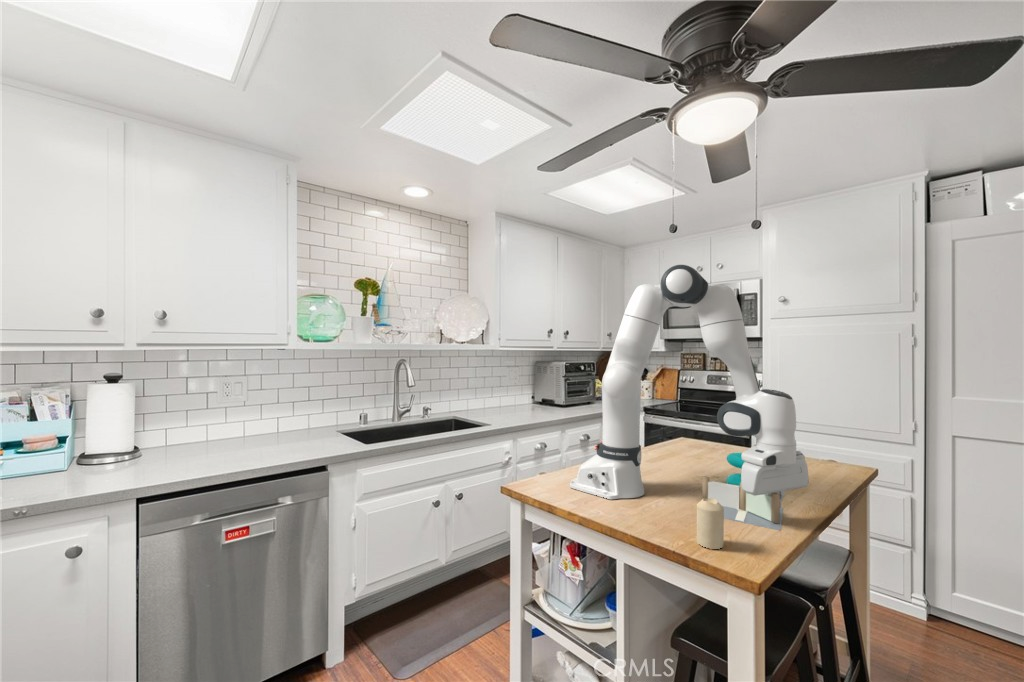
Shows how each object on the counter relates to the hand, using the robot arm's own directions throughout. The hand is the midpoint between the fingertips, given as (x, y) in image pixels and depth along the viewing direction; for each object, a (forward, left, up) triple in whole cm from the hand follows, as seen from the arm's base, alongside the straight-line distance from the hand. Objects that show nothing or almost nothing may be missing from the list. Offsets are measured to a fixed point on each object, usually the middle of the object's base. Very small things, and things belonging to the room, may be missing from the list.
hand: (776, 507), depth 113 cm
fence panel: (-3, -1, -3) cm, 4 cm away
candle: (-12, -24, -4) cm, 27 cm away
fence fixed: (-12, +3, -3) cm, 13 cm away
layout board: (-8, +1, -3) cm, 9 cm away
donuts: (-10, +25, -4) cm, 27 cm away
